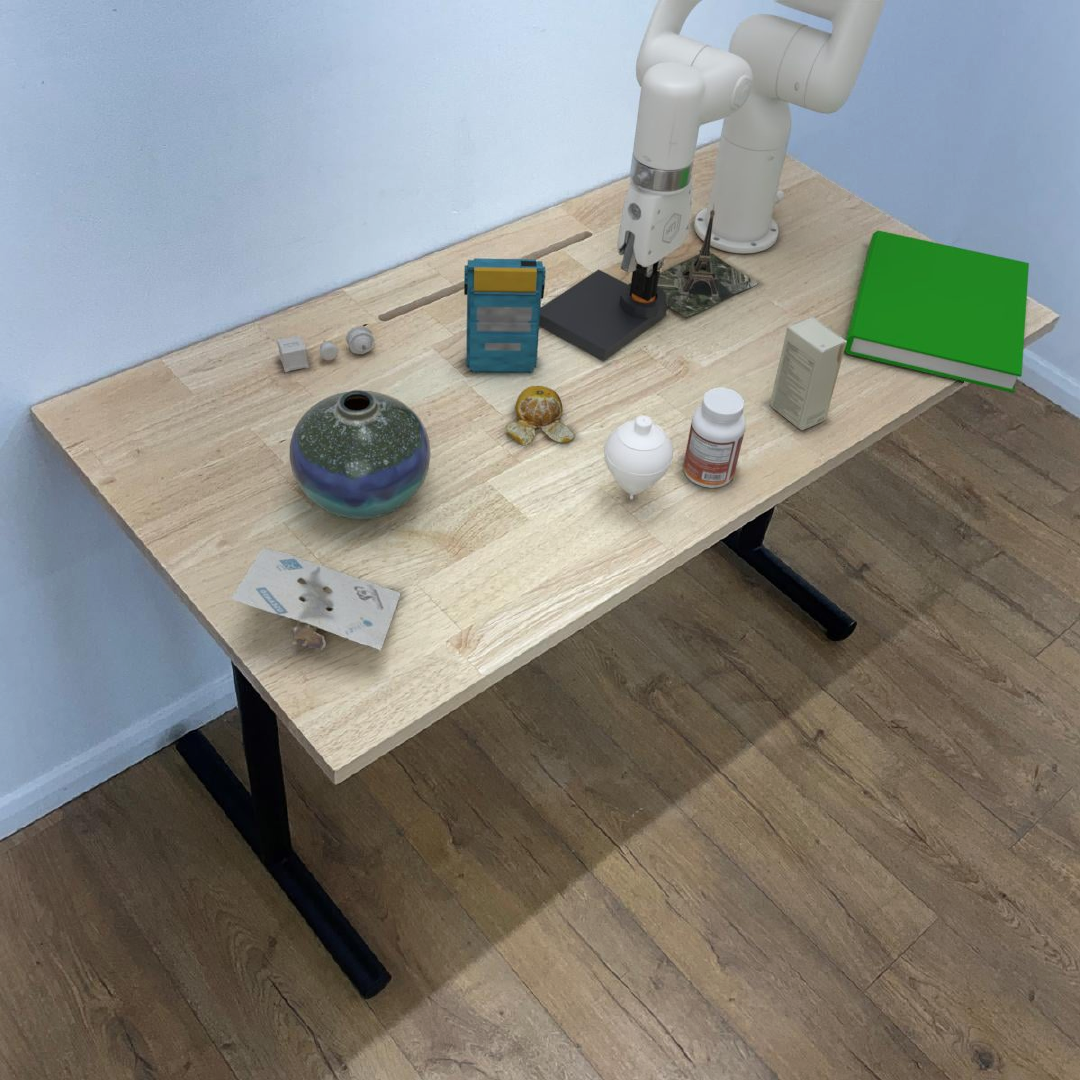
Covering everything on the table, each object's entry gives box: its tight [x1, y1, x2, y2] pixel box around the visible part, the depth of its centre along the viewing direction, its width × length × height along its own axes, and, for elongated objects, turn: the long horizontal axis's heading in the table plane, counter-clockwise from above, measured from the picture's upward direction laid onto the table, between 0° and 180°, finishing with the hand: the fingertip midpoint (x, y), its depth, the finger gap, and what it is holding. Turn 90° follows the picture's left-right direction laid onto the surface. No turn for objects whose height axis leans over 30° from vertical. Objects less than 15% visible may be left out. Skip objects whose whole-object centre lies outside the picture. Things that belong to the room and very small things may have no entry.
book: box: [844, 230, 1030, 394], centre depth 163 cm, size 22×28×3 cm
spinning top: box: [603, 414, 674, 500], centre depth 131 cm, size 8×8×12 cm
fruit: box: [505, 385, 576, 446], centre depth 142 cm, size 8×8×4 cm
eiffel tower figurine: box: [658, 206, 759, 318], centre depth 161 cm, size 15×10×13 cm
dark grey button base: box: [539, 269, 669, 362], centre depth 158 cm, size 15×12×4 cm
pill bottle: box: [682, 387, 747, 489], centre depth 135 cm, size 6×6×11 cm
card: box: [230, 546, 402, 652], centre depth 119 cm, size 11×15×5 cm
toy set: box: [276, 325, 375, 374], centre depth 149 cm, size 12×3×4 cm
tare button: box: [631, 294, 655, 303], centre depth 158 cm, size 3×3×2 cm
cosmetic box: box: [769, 316, 847, 431], centre depth 143 cm, size 6×4×12 cm
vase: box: [289, 389, 432, 520], centre depth 128 cm, size 15×15×13 cm
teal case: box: [463, 257, 547, 374], centre depth 145 cm, size 10×4×15 cm, turn 93°
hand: (642, 294), depth 157 cm, fingers closed
